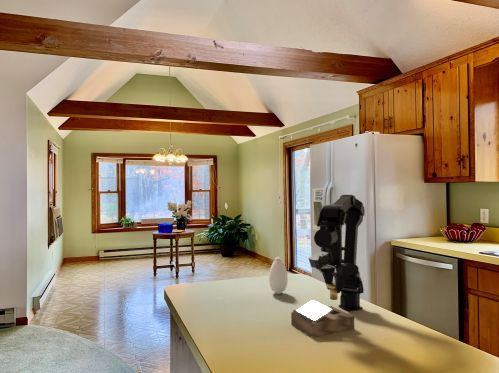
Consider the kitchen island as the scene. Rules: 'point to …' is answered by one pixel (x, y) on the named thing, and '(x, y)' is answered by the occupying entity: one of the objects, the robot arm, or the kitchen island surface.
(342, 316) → the brown box
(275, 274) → the sauce bottle
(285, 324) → the kitchen island surface
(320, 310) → the steel flap
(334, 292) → the gold metal dome
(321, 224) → the robot arm
